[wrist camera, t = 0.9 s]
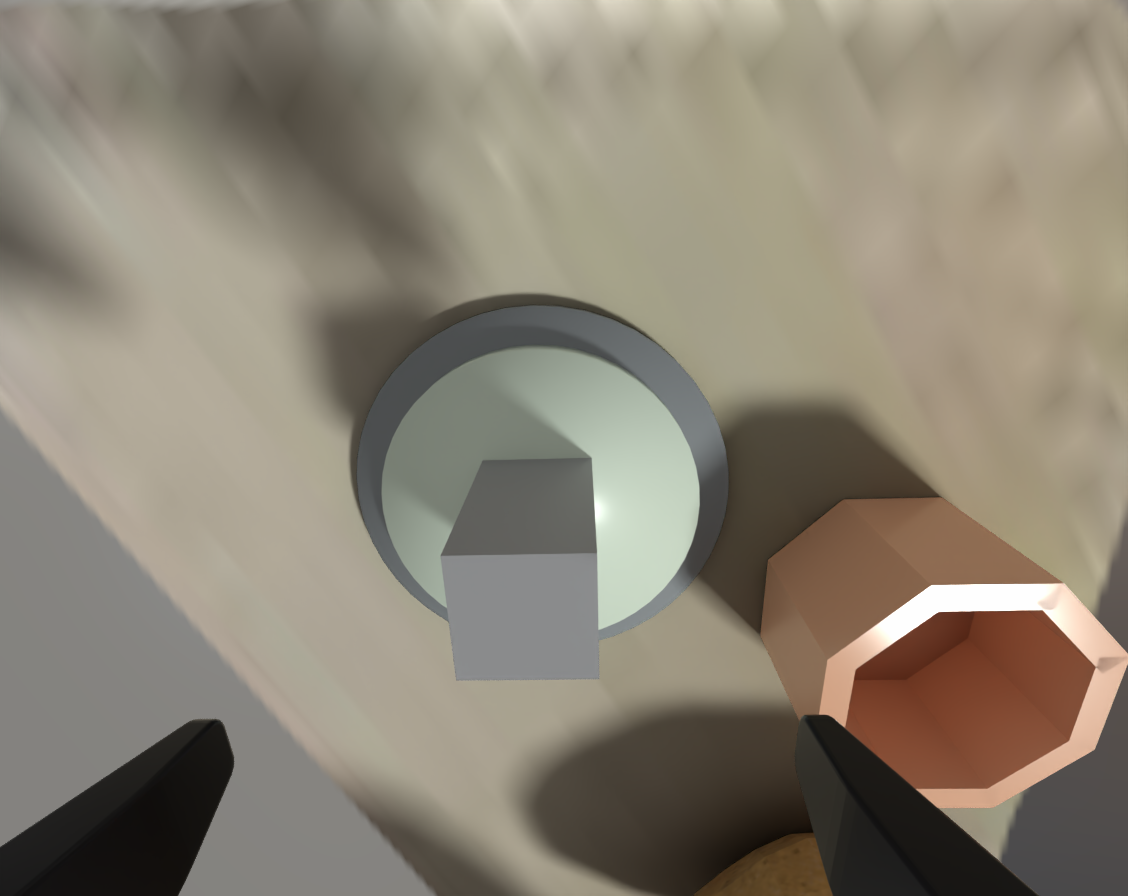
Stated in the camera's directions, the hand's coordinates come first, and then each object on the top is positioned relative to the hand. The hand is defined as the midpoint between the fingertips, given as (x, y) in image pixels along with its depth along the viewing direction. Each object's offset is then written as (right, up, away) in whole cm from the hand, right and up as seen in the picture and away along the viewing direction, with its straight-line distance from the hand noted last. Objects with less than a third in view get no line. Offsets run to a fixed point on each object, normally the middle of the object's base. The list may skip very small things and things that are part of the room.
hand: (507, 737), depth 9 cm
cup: (+11, 0, +9) cm, 14 cm away
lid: (0, +3, +8) cm, 9 cm away
